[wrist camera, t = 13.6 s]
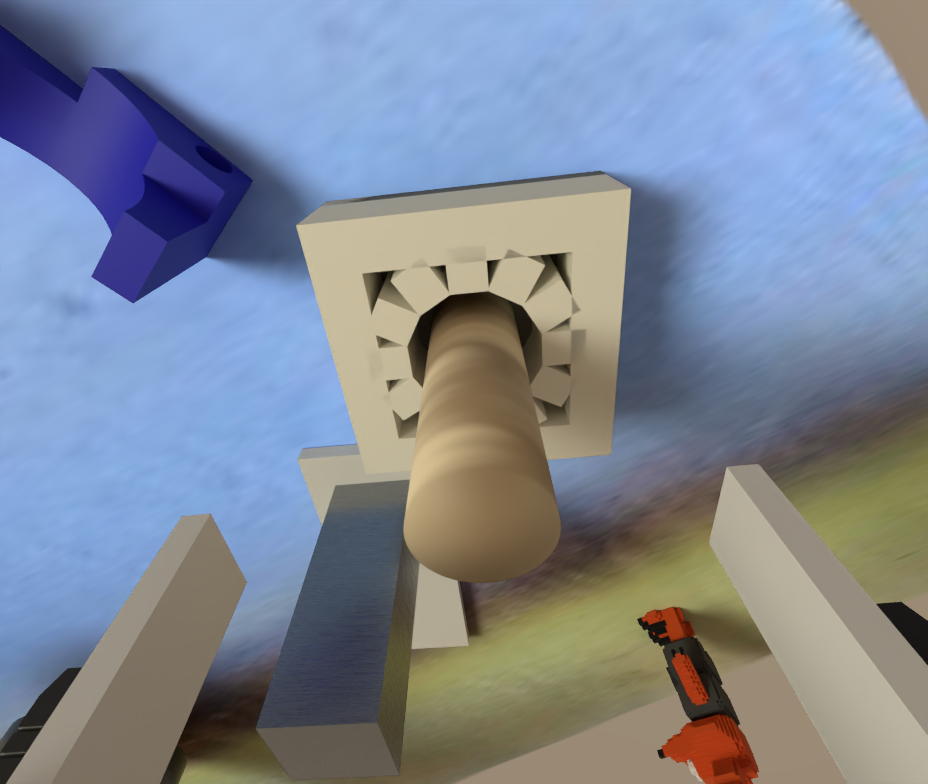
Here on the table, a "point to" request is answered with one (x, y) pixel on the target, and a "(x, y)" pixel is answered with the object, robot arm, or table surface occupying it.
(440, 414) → the beech dowel
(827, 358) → the table surface
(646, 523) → the table surface
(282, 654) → the square bar
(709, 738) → the toy animal
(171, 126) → the blue curved cradle
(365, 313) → the socket block
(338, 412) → the table surface
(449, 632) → the strip
